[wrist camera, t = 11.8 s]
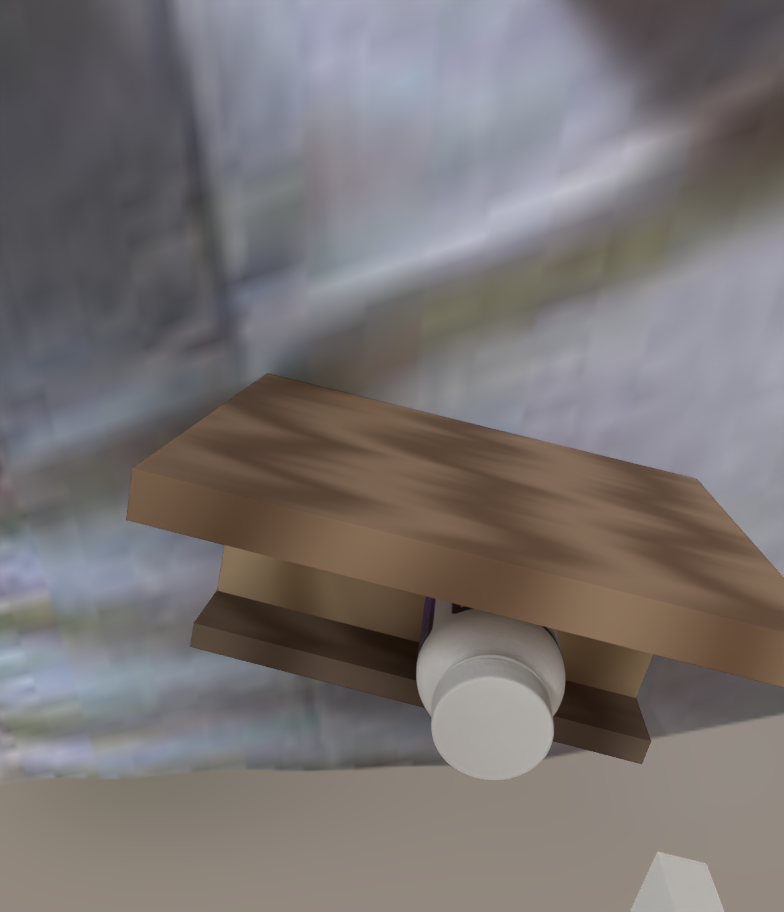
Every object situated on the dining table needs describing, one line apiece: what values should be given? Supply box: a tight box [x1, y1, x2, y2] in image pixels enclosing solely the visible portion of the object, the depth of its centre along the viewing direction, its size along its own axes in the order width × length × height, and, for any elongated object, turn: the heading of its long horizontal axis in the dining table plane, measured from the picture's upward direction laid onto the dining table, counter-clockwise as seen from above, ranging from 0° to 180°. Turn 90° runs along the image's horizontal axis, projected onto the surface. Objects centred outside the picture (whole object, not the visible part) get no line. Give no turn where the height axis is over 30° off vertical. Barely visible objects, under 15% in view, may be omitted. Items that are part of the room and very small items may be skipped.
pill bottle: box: [416, 596, 565, 781], centre depth 29 cm, size 5×5×10 cm
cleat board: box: [126, 374, 784, 764], centre depth 29 cm, size 20×11×14 cm, turn 77°
